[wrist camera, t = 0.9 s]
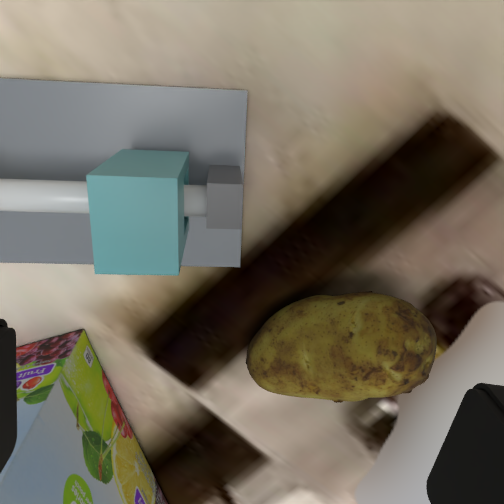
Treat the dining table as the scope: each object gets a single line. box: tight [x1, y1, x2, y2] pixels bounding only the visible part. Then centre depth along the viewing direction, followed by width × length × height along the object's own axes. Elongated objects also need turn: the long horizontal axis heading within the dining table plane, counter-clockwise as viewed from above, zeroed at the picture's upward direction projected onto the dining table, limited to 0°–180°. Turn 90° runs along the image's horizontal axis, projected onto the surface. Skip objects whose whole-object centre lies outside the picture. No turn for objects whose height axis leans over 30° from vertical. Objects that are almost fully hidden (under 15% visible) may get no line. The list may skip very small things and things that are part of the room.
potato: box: [246, 291, 436, 403], centre depth 32 cm, size 8×13×8 cm, turn 91°
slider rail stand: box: [0, 78, 247, 267], centre depth 27 cm, size 22×12×7 cm, turn 87°
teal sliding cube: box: [86, 149, 189, 275], centre depth 24 cm, size 4×5×8 cm
